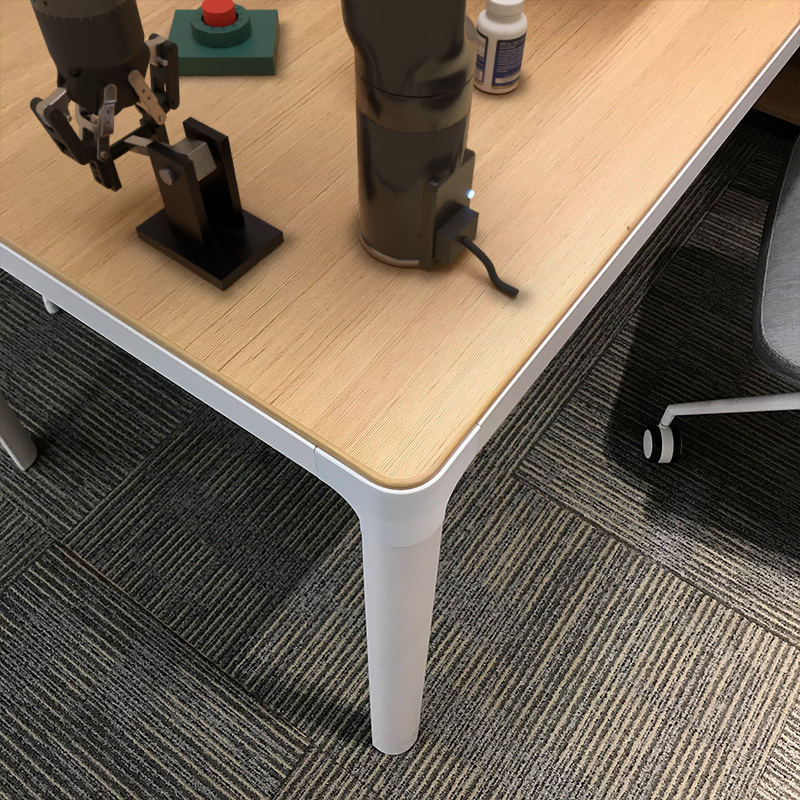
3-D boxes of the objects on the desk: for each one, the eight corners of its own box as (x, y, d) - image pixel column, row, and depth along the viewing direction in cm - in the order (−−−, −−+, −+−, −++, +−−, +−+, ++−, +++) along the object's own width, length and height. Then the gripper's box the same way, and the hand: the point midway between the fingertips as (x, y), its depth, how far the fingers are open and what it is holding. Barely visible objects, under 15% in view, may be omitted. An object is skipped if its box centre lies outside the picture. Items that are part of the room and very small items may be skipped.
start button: (237, 11, 87) (235, -4, 86) (235, 28, 85) (232, 13, 84) (205, 11, 87) (203, -4, 86) (202, 28, 85) (199, 13, 84)
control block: (279, 27, 92) (275, -7, 89) (275, 75, 87) (270, 41, 83) (179, 27, 92) (171, -7, 89) (168, 75, 86) (159, 41, 83)
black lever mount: (138, 237, 71) (103, 138, 63) (200, 192, 75) (176, 93, 66) (223, 291, 68) (200, 194, 59) (284, 241, 72) (270, 143, 63)
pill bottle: (524, 74, 88) (539, -12, 80) (509, 100, 85) (523, 13, 77) (480, 63, 89) (490, -23, 81) (464, 87, 86) (472, 1, 78)
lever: (109, 167, 69) (96, 143, 67) (150, 140, 71) (139, 115, 70) (186, 190, 63) (174, 164, 61) (228, 159, 65) (218, 133, 64)
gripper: (32, 45, 53) (102, 230, 67) (185, -33, 60) (220, 150, 74) (-34, 8, 56) (47, 193, 69) (120, -63, 62) (166, 119, 76)
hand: (136, 170), depth 72 cm, fingers closed on lever, 5 cm apart
